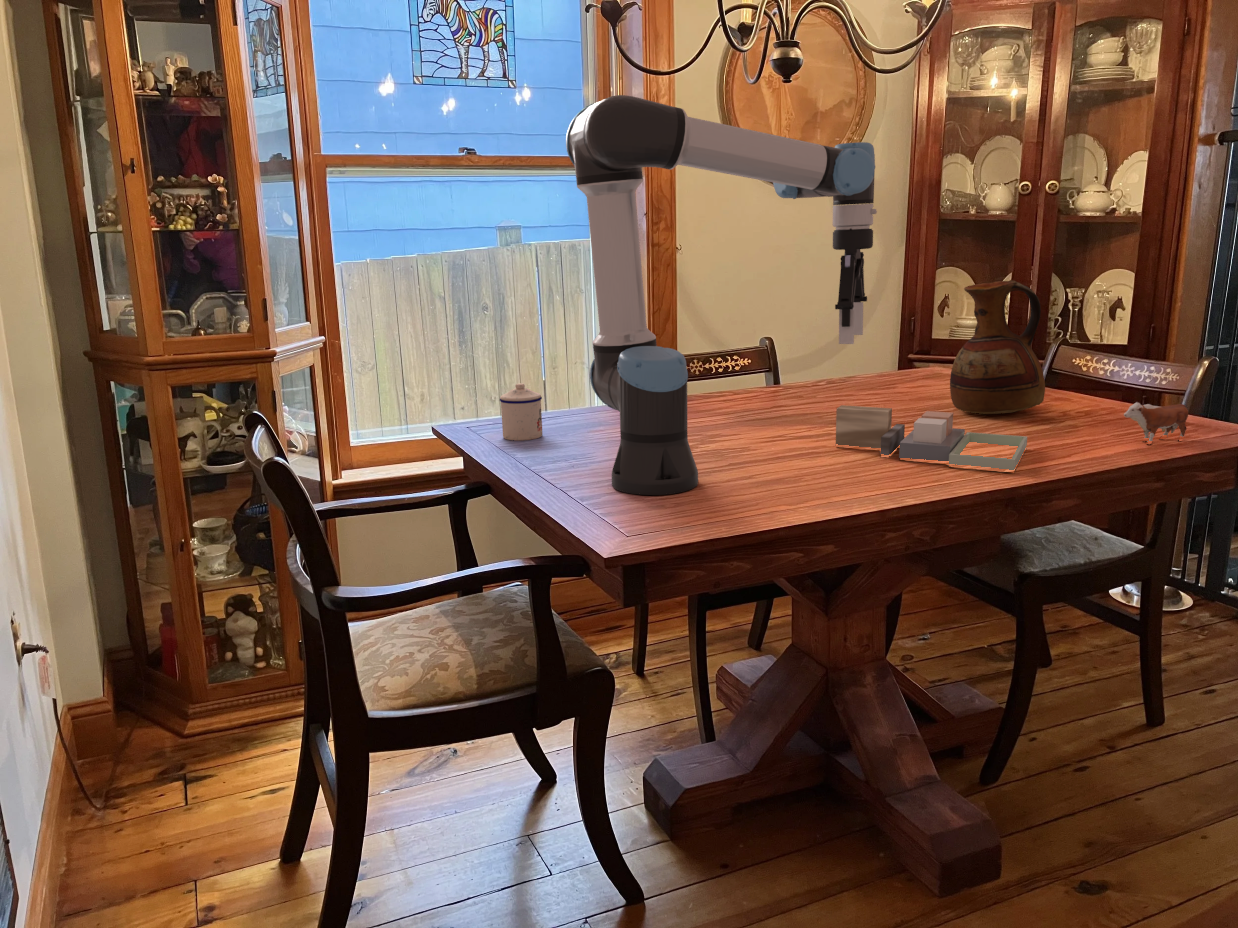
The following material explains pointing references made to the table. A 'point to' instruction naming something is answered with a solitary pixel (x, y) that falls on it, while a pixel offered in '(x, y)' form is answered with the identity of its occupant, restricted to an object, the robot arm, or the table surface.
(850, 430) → the beige slab
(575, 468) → the table surface
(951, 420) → the reddish brown block
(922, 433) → the light grey block
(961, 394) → the ceramic pitcher
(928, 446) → the slate board
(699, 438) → the table surface
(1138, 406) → the bull figurine
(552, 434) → the table surface
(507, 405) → the teacup with lid
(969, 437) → the tray
